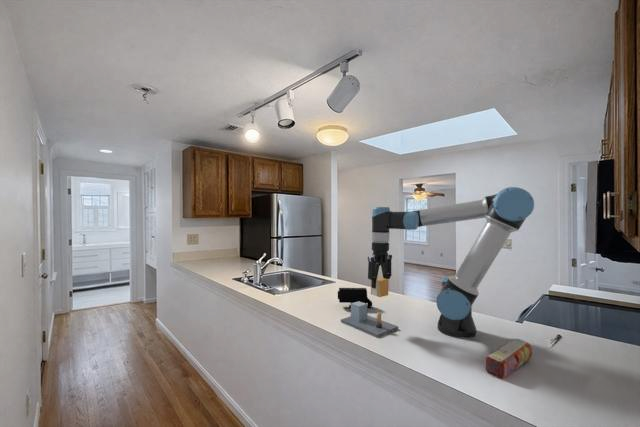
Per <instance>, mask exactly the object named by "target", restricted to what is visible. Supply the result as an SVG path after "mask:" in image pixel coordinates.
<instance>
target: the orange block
mask: <svg viewBox="0 0 640 427" xmlns="http://www.w3.org/2000/svg"><path fill="white" fill-rule="evenodd" d="M389 280H390V279H385V278H383V277H380V276H377V281H378V296H377V298H378V297H379V298H382V297H386V296H389V286H390V284H389ZM371 285H372V281H371V280H370V295H372V287H371Z"/></svg>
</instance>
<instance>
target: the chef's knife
mask: <svg viewBox="0 0 640 427" xmlns="http://www.w3.org/2000/svg"><path fill="white" fill-rule="evenodd" d="M561 337H562V335H561V334H557V335H556V337H554V338H550V339H551V340H550V341H552V342H550V343H551V344H552V343H553V342H554V343H555V342H556V341H557V340H558V341H559V339H560V338H561ZM558 341H557V342H558ZM557 342H556V343H557ZM556 343H555V344H556ZM555 344H552V345H555Z"/></svg>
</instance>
